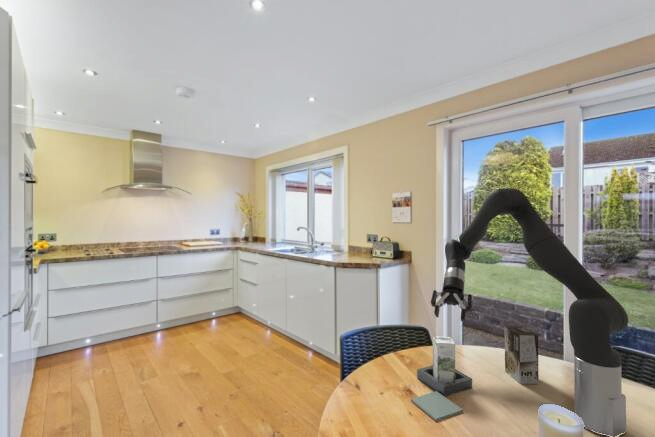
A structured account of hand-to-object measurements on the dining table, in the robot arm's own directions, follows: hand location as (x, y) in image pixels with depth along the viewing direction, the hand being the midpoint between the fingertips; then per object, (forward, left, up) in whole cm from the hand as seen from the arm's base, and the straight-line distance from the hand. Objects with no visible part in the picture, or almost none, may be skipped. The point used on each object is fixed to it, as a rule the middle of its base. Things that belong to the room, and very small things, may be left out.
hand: (449, 318), depth 109 cm
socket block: (-7, +9, -18) cm, 21 cm away
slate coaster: (-15, +21, -18) cm, 32 cm away
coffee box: (-15, -18, -18) cm, 29 cm away
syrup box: (-7, +9, -18) cm, 22 cm away
